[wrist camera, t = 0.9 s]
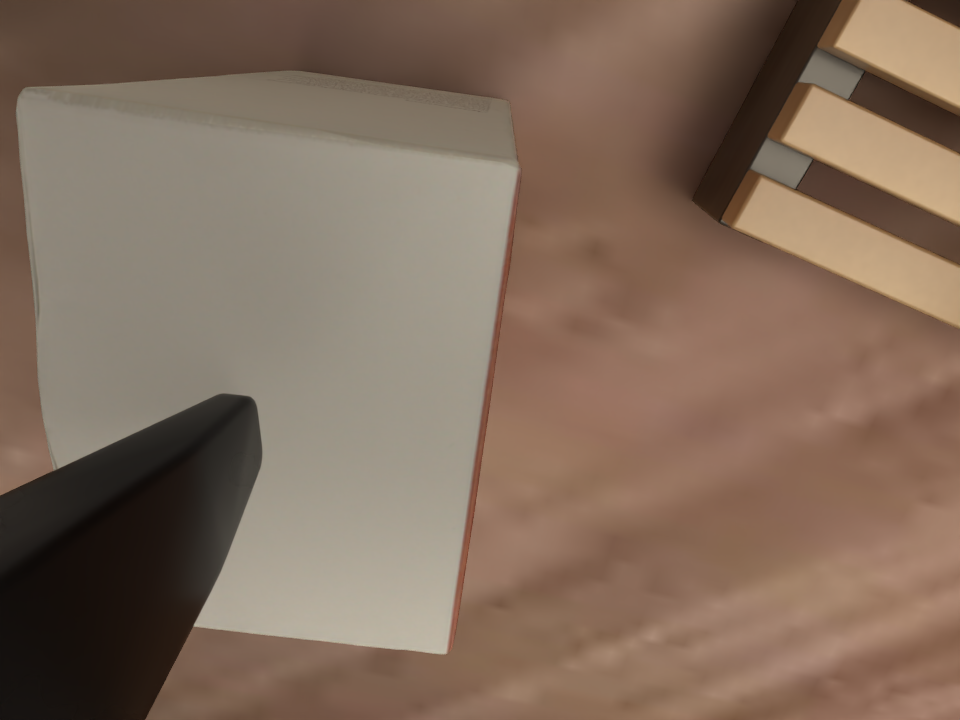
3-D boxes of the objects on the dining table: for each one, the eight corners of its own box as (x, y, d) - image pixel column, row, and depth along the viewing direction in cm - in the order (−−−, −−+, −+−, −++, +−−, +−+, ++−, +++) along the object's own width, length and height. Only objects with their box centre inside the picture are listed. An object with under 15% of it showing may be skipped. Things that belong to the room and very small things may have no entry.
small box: (480, 358, 24) (453, 671, 12) (285, 332, 24) (57, 621, 12) (517, 94, 21) (530, 156, 9) (291, 63, 21) (-11, 82, 9)
